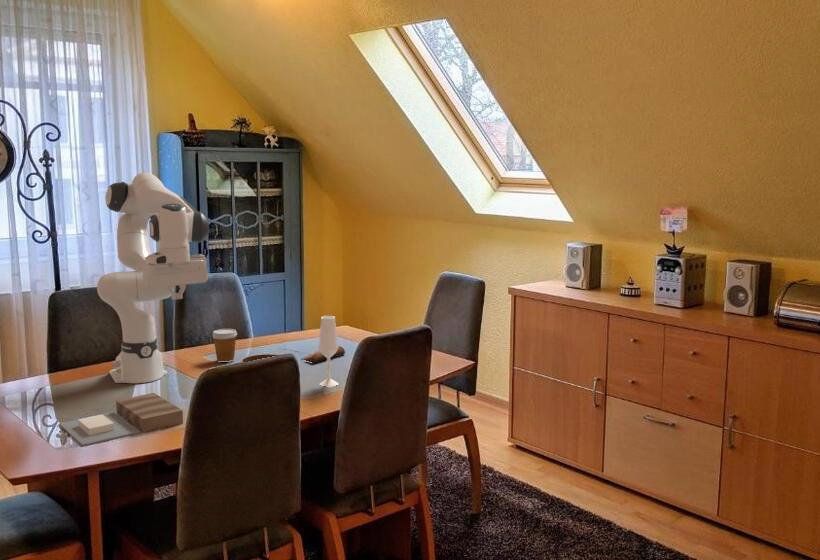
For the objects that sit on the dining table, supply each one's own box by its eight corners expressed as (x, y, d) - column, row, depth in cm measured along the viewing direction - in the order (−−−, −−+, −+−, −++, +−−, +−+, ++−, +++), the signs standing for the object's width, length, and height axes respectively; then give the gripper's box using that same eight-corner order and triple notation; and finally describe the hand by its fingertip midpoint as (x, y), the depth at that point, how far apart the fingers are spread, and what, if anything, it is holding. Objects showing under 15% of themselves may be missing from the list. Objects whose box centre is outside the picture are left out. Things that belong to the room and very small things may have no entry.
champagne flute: (325, 388, 261) (324, 320, 257) (315, 383, 266) (314, 316, 263) (342, 384, 265) (341, 317, 261) (332, 380, 270) (331, 314, 266)
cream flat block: (102, 414, 226) (102, 420, 226) (77, 419, 222) (78, 426, 222) (114, 423, 219) (114, 429, 219) (89, 428, 214) (89, 435, 214)
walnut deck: (116, 412, 235) (116, 400, 235) (154, 404, 243) (153, 392, 242) (143, 432, 219) (142, 419, 218) (183, 423, 226) (182, 410, 226)
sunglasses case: (329, 351, 310) (335, 339, 307) (341, 362, 307) (347, 350, 304) (298, 361, 295) (304, 348, 293) (309, 372, 292) (315, 359, 289)
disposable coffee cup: (231, 365, 290) (230, 334, 288) (208, 363, 292) (207, 333, 290) (242, 358, 299) (241, 329, 297) (220, 357, 301) (219, 327, 299)
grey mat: (58, 424, 224) (58, 423, 224) (113, 413, 235) (113, 411, 234) (82, 446, 208) (82, 444, 208) (140, 433, 218) (140, 431, 218)
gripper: (201, 252, 247) (203, 294, 249) (139, 257, 234) (142, 301, 236) (210, 254, 242) (212, 296, 244) (147, 259, 229) (150, 304, 231)
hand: (177, 299), depth 240 cm, fingers closed
